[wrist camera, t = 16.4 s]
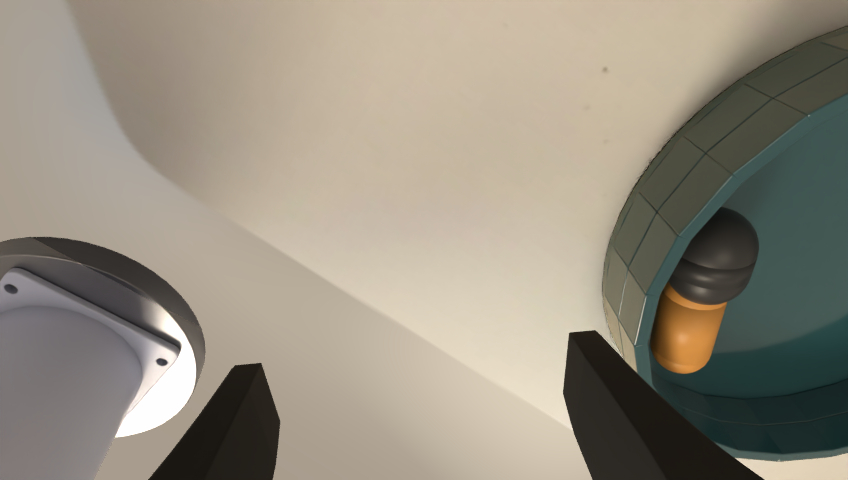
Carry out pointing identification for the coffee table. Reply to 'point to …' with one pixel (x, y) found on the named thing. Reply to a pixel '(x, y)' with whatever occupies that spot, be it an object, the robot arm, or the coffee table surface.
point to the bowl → (775, 266)
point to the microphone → (703, 291)
